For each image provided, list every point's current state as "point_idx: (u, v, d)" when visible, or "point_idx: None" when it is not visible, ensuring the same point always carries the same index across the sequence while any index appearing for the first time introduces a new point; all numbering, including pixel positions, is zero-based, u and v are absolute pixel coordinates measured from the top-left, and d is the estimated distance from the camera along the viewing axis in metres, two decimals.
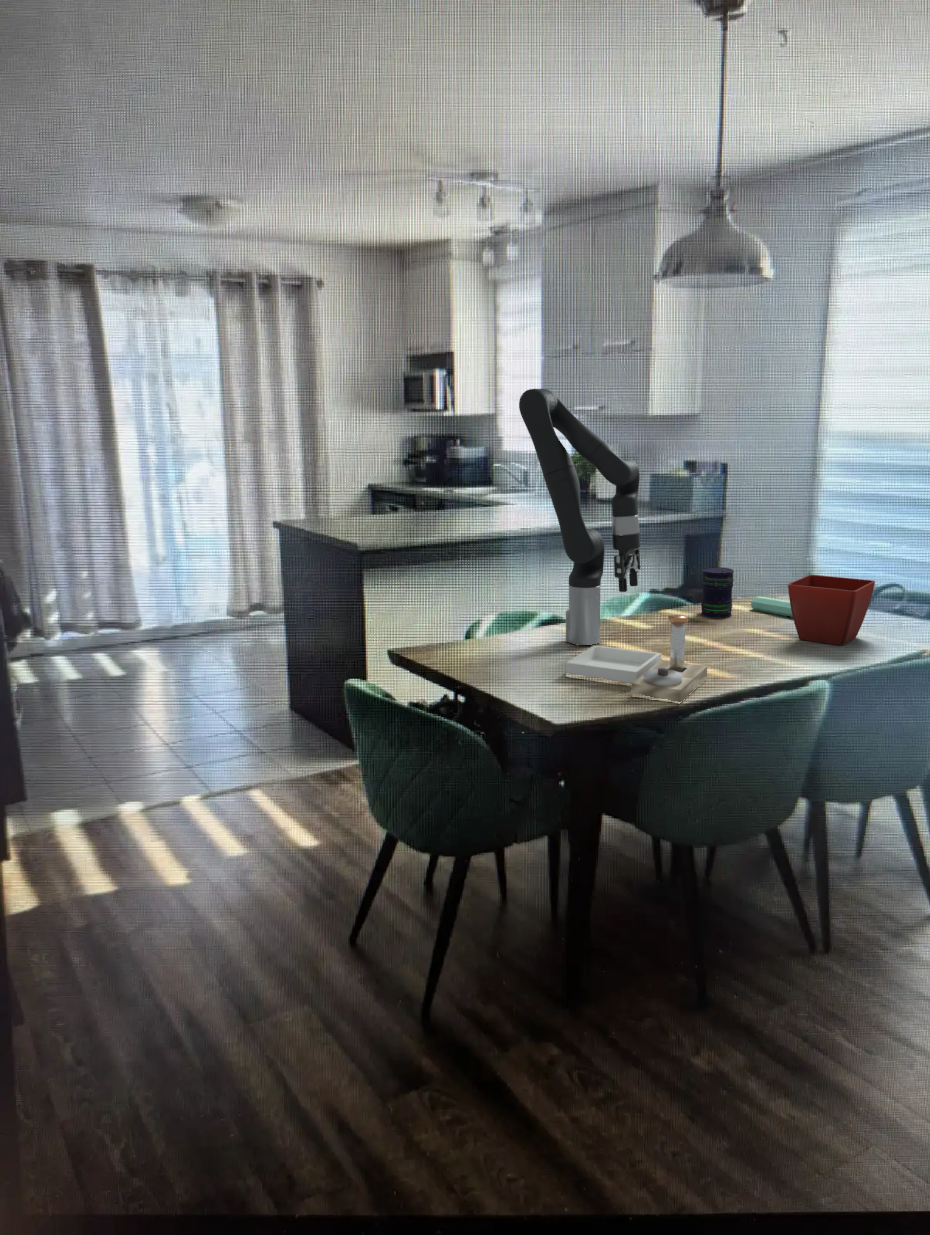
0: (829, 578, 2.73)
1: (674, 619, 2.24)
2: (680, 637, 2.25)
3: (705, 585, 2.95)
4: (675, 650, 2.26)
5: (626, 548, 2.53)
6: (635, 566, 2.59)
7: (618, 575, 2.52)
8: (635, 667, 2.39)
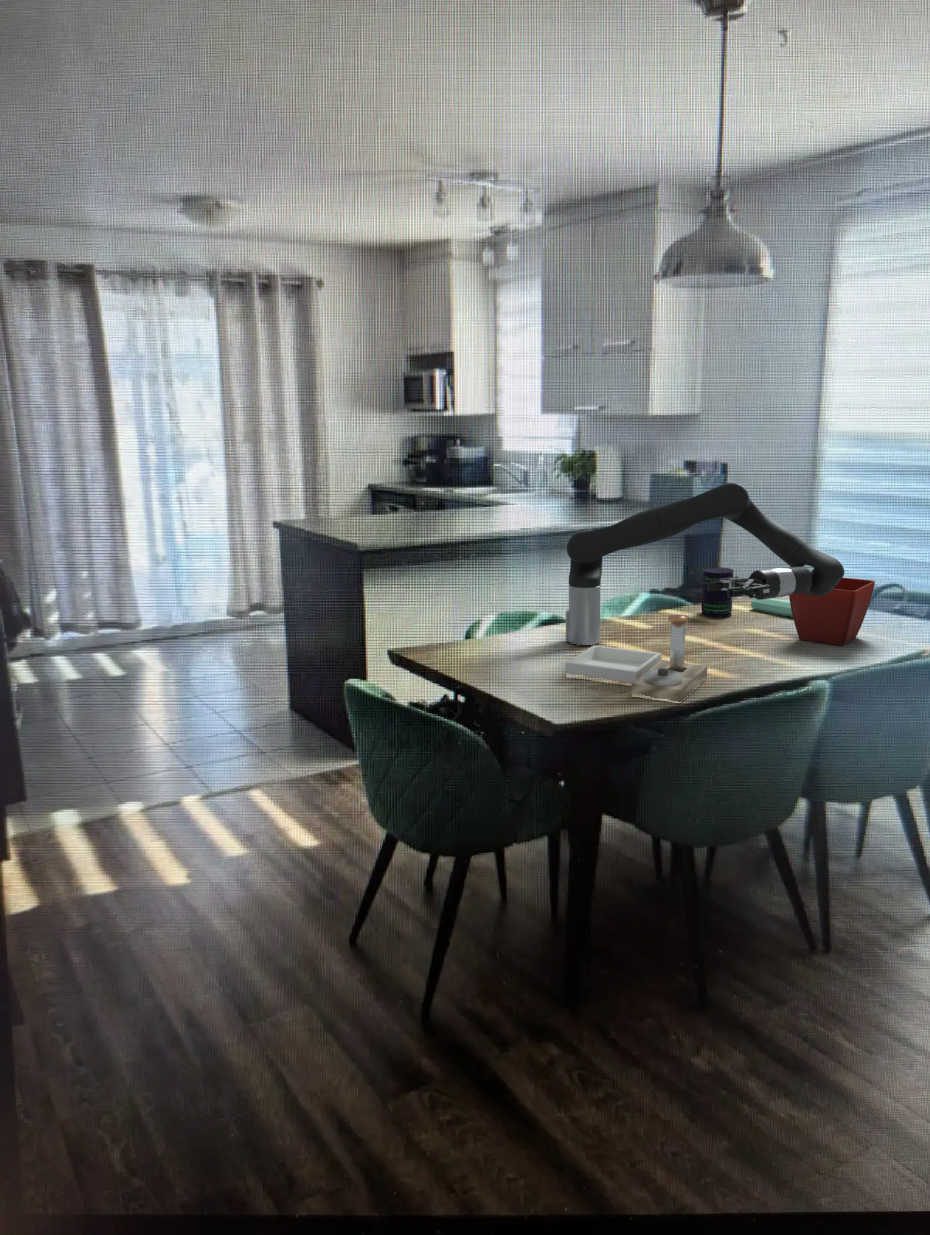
0: None
1: (674, 619, 2.24)
2: (680, 637, 2.25)
3: (705, 585, 2.95)
4: (675, 650, 2.26)
5: None
6: None
7: (752, 592, 2.23)
8: (635, 667, 2.39)
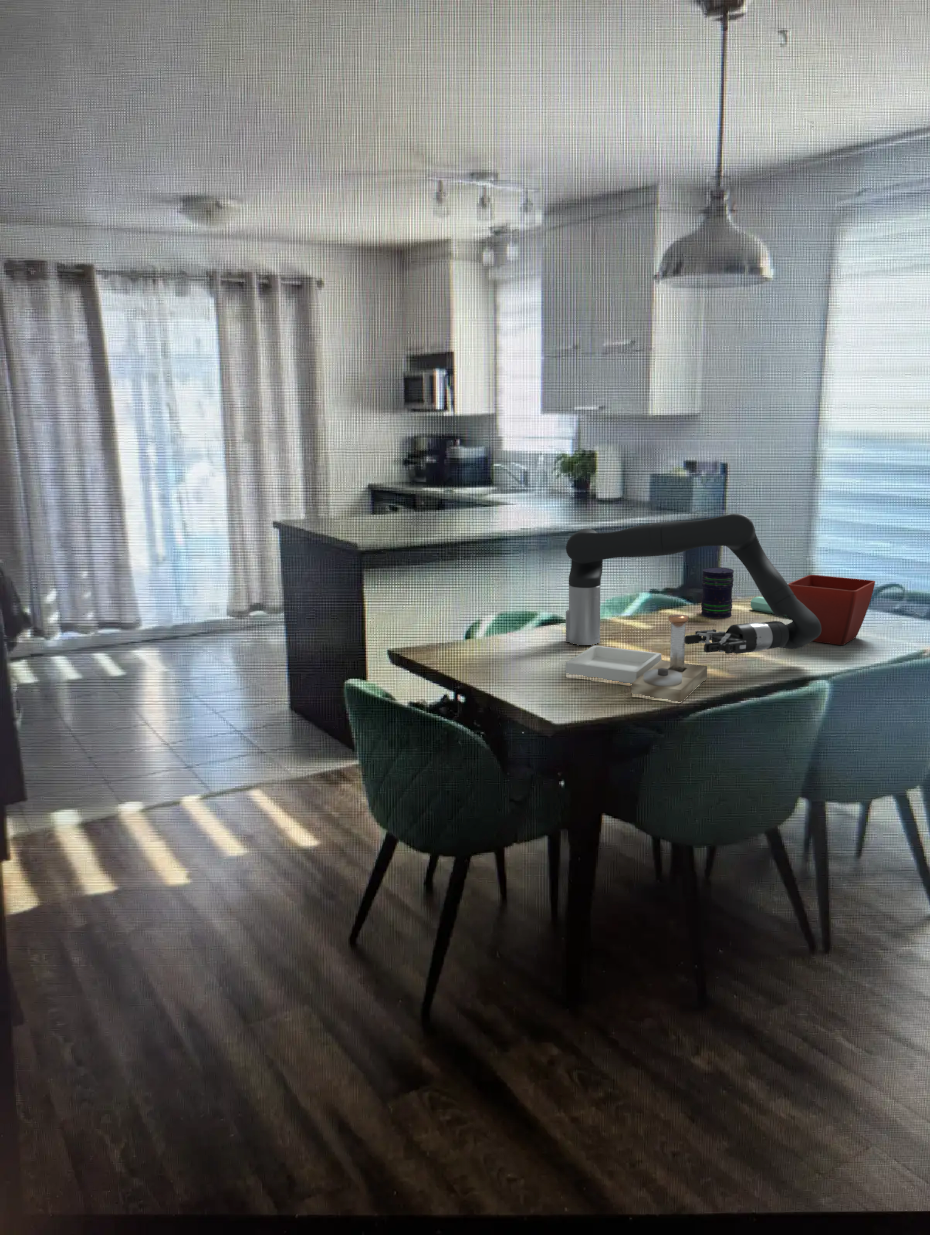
0: (829, 578, 2.73)
1: (674, 619, 2.24)
2: (680, 637, 2.25)
3: (705, 585, 2.95)
4: (675, 650, 2.26)
5: None
6: None
7: (729, 648, 2.24)
8: (635, 667, 2.39)
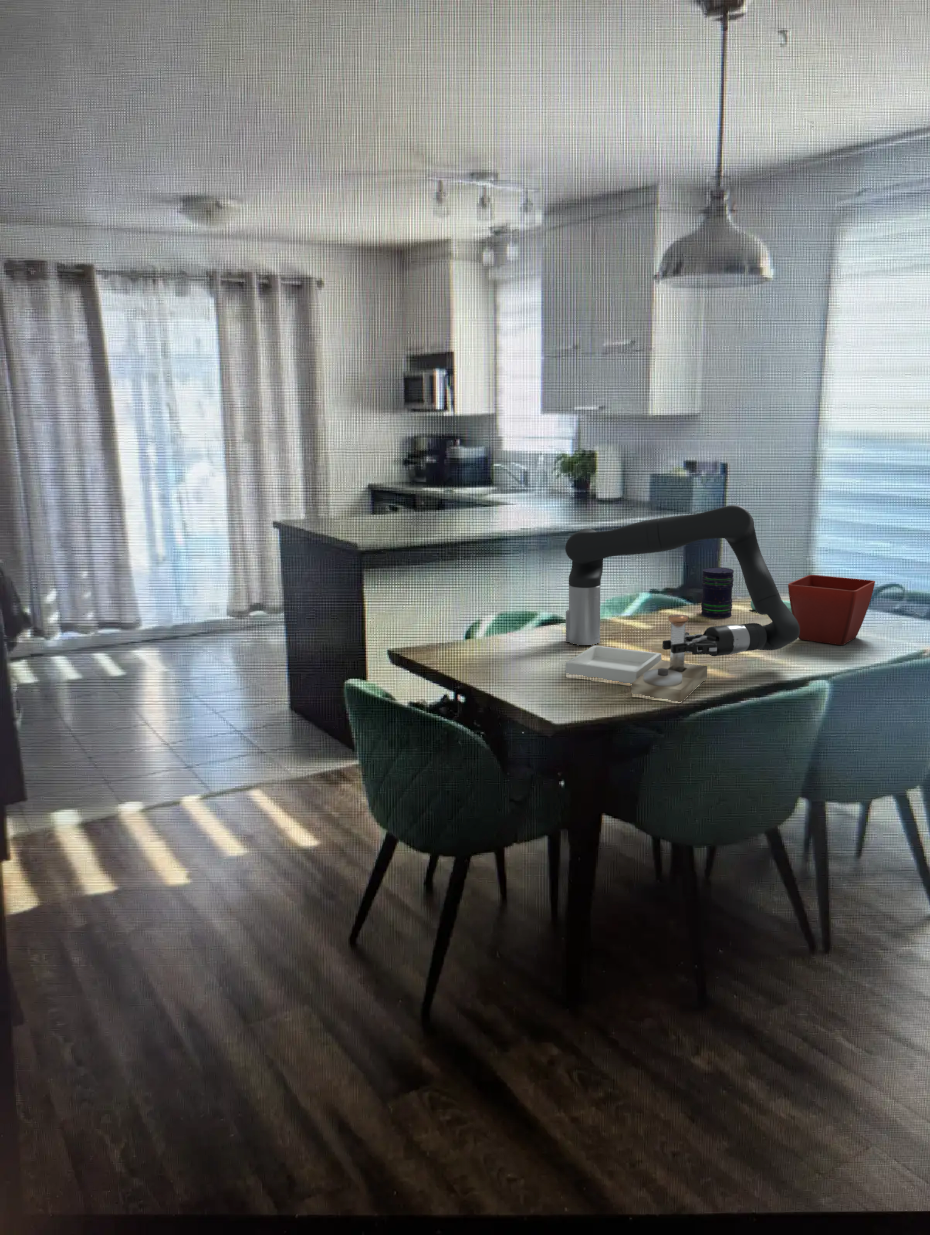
0: (829, 578, 2.73)
1: (674, 619, 2.24)
2: (680, 637, 2.25)
3: (705, 585, 2.95)
4: None
5: (720, 649, 2.28)
6: None
7: (696, 649, 2.24)
8: (635, 667, 2.39)
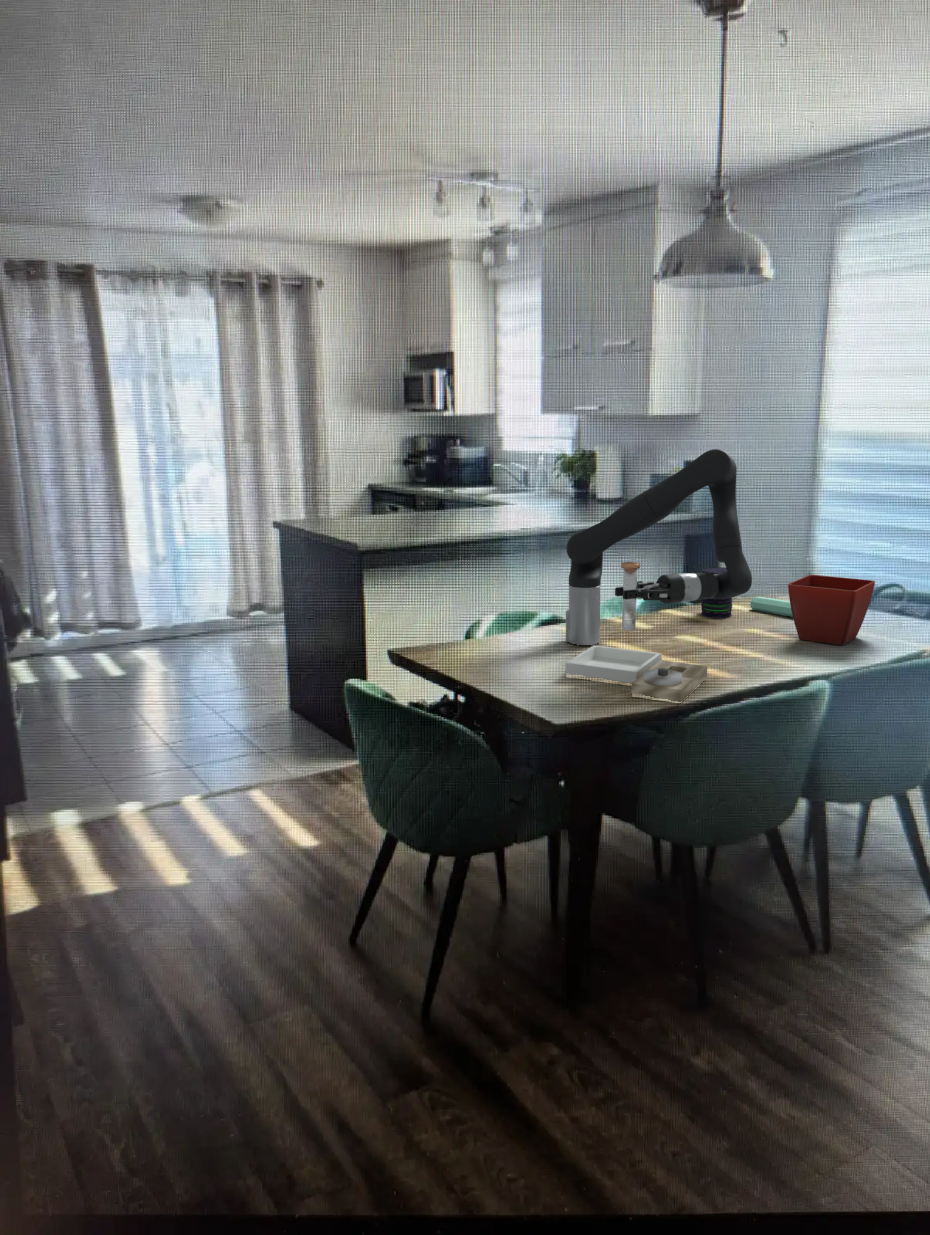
0: (829, 578, 2.73)
1: (626, 565, 2.28)
2: (632, 584, 2.29)
3: None
4: None
5: (671, 597, 2.32)
6: None
7: (646, 595, 2.28)
8: (635, 667, 2.39)
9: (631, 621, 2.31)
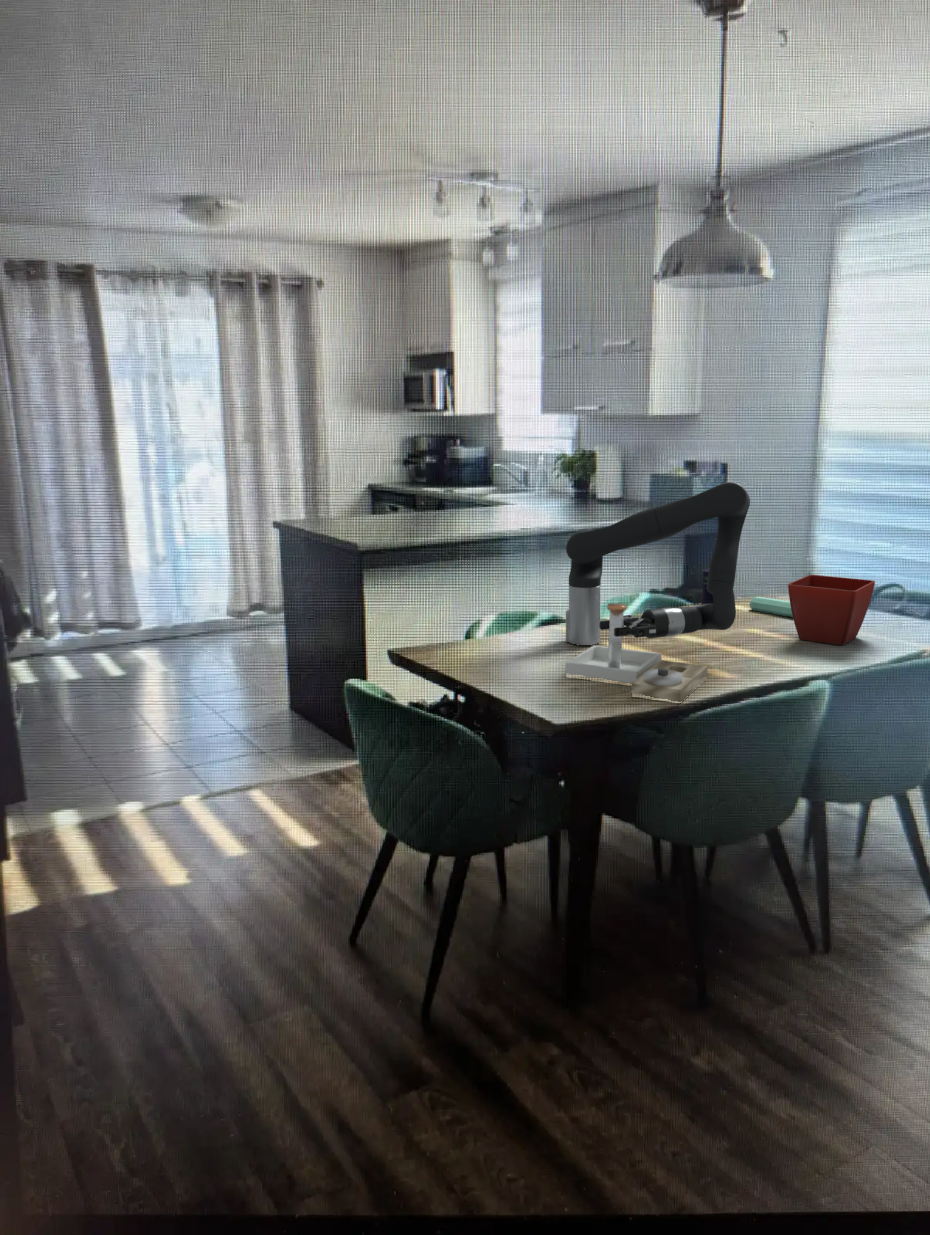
0: (829, 578, 2.73)
1: (612, 607, 2.33)
2: (618, 625, 2.34)
3: (705, 585, 2.95)
4: (613, 637, 2.35)
5: (655, 632, 2.36)
6: None
7: (637, 632, 2.31)
8: (635, 667, 2.39)
9: (617, 661, 2.36)
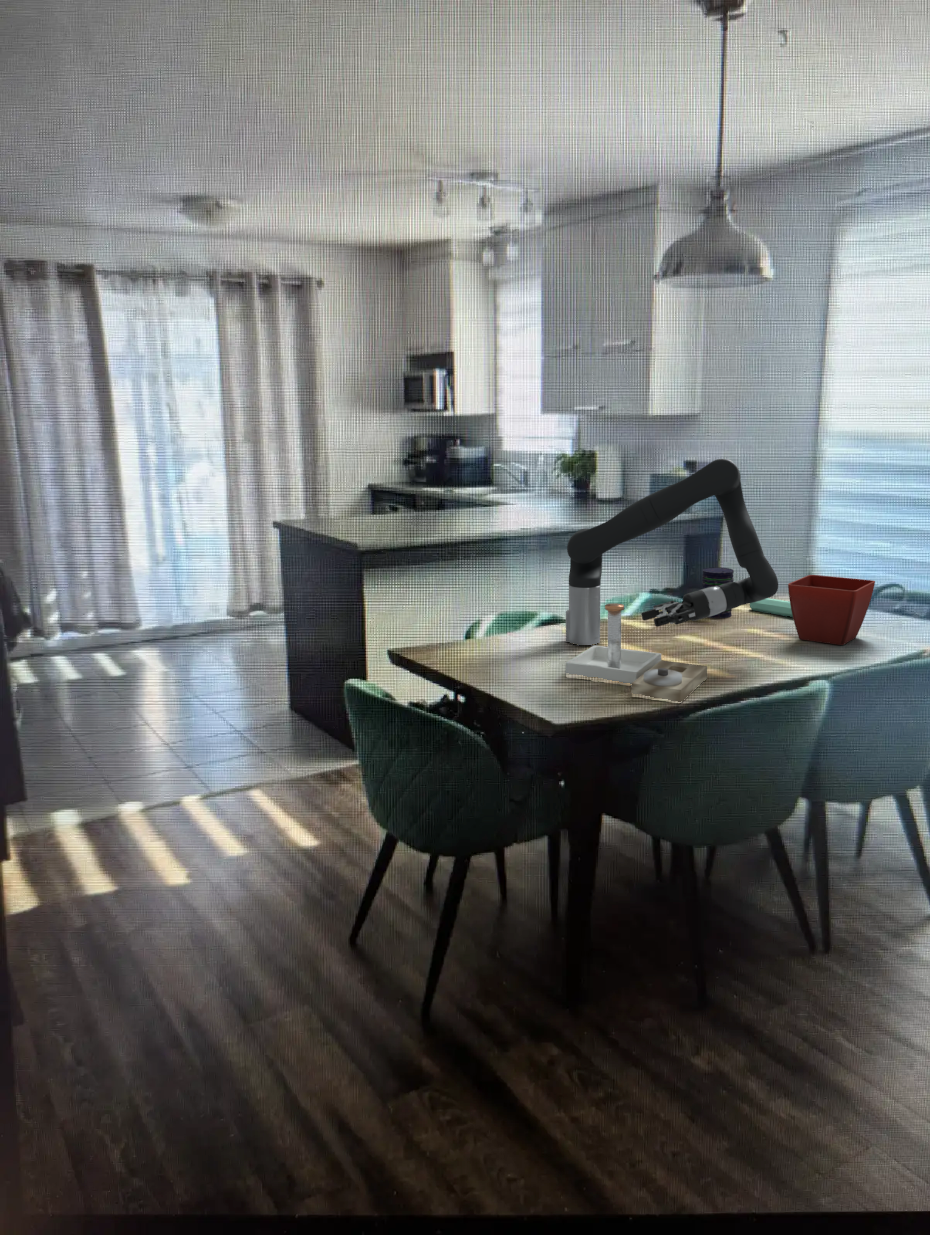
0: (829, 578, 2.73)
1: (610, 608, 2.33)
2: (616, 625, 2.34)
3: (705, 585, 2.95)
4: (612, 637, 2.35)
5: (696, 614, 2.40)
6: None
7: (677, 619, 2.35)
8: (635, 667, 2.39)
9: (617, 661, 2.36)
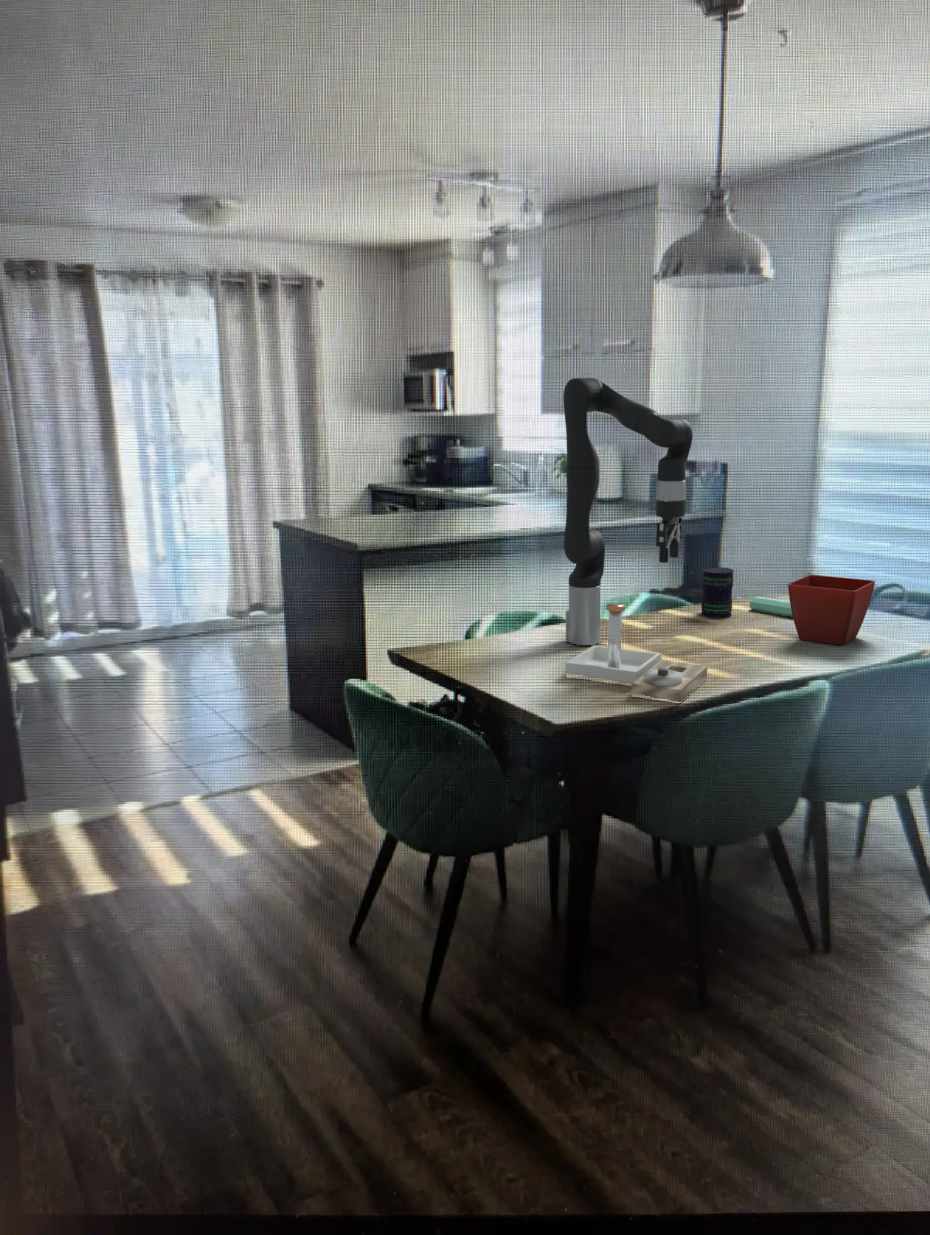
0: (829, 578, 2.73)
1: (611, 607, 2.33)
2: (617, 625, 2.34)
3: (705, 585, 2.95)
4: (612, 637, 2.35)
5: (670, 515, 2.34)
6: (677, 536, 2.41)
7: (660, 544, 2.33)
8: (635, 667, 2.39)
9: (617, 661, 2.36)
